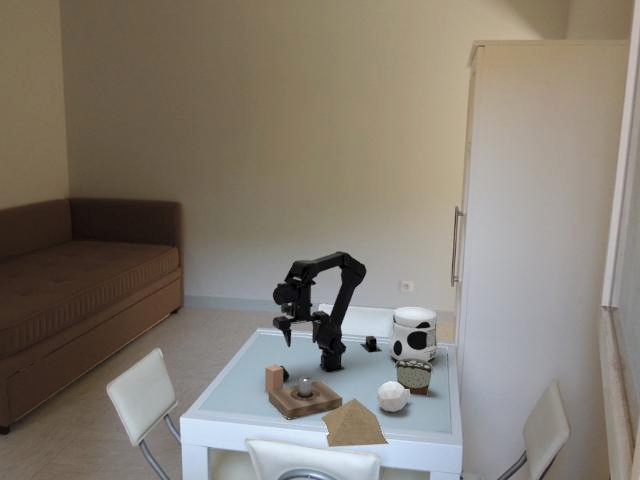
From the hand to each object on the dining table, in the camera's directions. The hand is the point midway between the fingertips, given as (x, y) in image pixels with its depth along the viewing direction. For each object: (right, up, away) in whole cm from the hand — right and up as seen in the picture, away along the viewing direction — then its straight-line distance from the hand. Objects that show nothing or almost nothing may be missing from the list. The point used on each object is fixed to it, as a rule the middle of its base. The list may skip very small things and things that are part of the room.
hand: (301, 344), depth 194 cm
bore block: (+2, -15, -16) cm, 22 cm away
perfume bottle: (+29, -16, -18) cm, 38 cm away
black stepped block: (+26, -8, +33) cm, 43 cm away
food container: (+37, -14, -5) cm, 40 cm away
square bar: (-8, -13, -8) cm, 18 cm away
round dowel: (+2, -15, -16) cm, 22 cm away
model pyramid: (+15, -19, -31) cm, 39 cm away
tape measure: (-8, -12, +2) cm, 14 cm away
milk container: (+40, -9, +21) cm, 47 cm away
